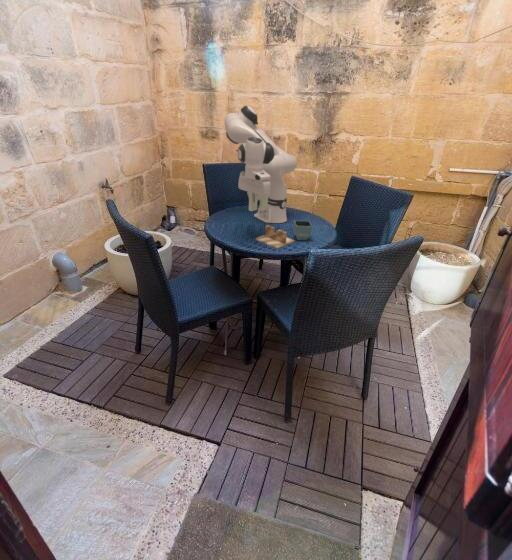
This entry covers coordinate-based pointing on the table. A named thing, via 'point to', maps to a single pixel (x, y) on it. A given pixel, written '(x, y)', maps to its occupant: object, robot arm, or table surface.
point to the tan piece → (275, 237)
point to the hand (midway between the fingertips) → (253, 201)
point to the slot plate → (254, 205)
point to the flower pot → (302, 229)
